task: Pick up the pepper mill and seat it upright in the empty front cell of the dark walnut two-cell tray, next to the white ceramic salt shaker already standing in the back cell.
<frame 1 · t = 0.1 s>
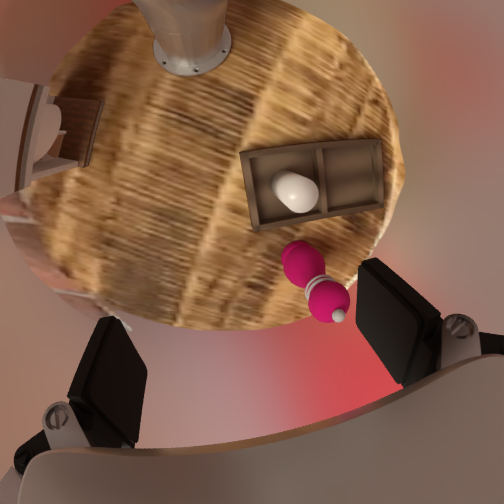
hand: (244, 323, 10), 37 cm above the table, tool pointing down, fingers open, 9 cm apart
pepper mill: (296, 255, 51), on the table
salt shaker: (284, 184, 44), point 1 cm above the table, touching walnut cruet tray
walnut cruet tray: (315, 178, 45), on the table
spiral ramp tower: (71, 130, 35), on the table
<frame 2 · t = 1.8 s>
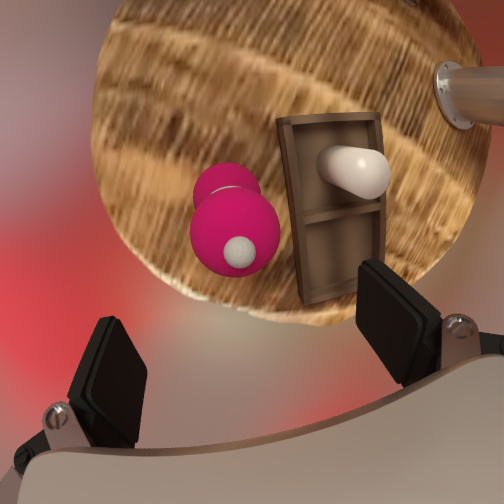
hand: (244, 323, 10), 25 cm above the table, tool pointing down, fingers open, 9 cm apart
pepper mill: (225, 188, 33), on the table
salt shaker: (333, 163, 32), point 1 cm above the table, touching walnut cruet tray
walnut cruet tray: (335, 206, 35), on the table
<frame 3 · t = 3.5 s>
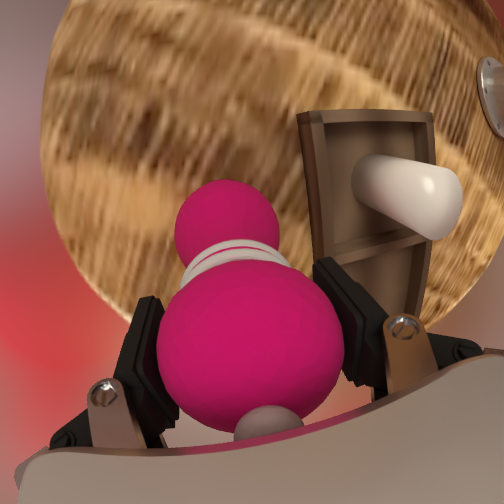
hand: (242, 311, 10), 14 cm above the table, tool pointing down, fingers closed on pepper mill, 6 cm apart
pepper mill: (223, 215, 23), on the table, touching gripper
salt shaker: (373, 179, 23), point 1 cm above the table, touching walnut cruet tray
walnut cruet tray: (370, 236, 26), on the table
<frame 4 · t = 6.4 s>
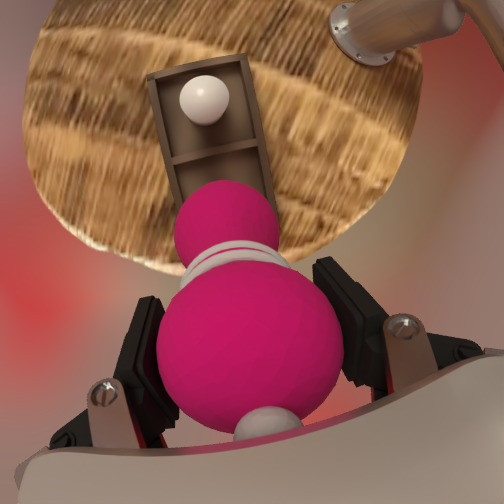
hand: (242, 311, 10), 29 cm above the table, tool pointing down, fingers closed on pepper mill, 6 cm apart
pepper mill: (223, 215, 23), point 15 cm above the table, touching gripper
salt shaker: (205, 108, 32), point 1 cm above the table, touching walnut cruet tray
walnut cruet tray: (213, 150, 35), on the table
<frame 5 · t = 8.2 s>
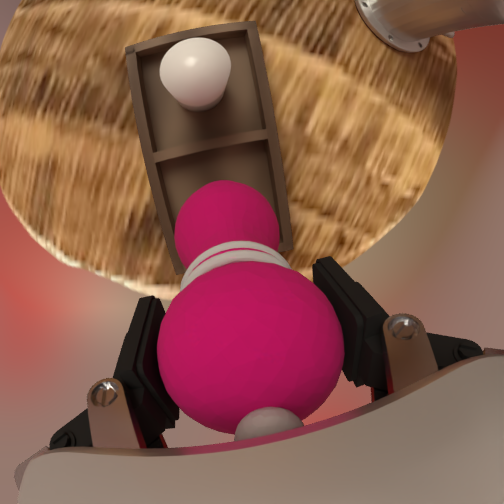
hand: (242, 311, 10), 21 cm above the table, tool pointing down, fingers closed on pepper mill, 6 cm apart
pepper mill: (223, 215, 23), point 7 cm above the table, touching gripper
salt shaker: (199, 89, 23), point 1 cm above the table, touching walnut cruet tray
walnut cruet tray: (210, 143, 26), on the table
when the fingers open (16 cm above the table, at t = 9.6 s): pepper mill drops 1 cm, resting on walnut cruet tray.
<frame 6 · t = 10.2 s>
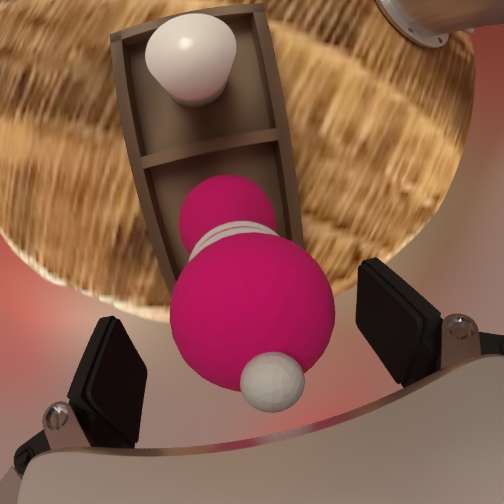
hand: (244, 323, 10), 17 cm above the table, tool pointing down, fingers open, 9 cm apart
pepper mill: (223, 208, 24), point 1 cm above the table, touching walnut cruet tray
salt shaker: (196, 81, 19), point 1 cm above the table, touching walnut cruet tray
walnut cruet tray: (208, 145, 22), on the table
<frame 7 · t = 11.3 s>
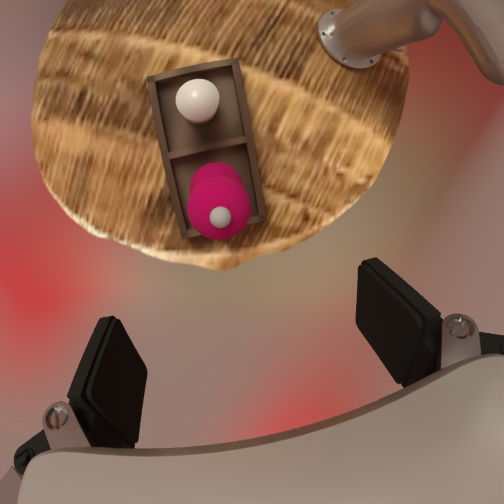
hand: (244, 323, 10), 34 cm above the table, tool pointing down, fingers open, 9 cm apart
pepper mill: (215, 183, 40), point 1 cm above the table, touching walnut cruet tray
salt shaker: (199, 108, 35), point 1 cm above the table, touching walnut cruet tray
walnut cruet tray: (207, 146, 38), on the table
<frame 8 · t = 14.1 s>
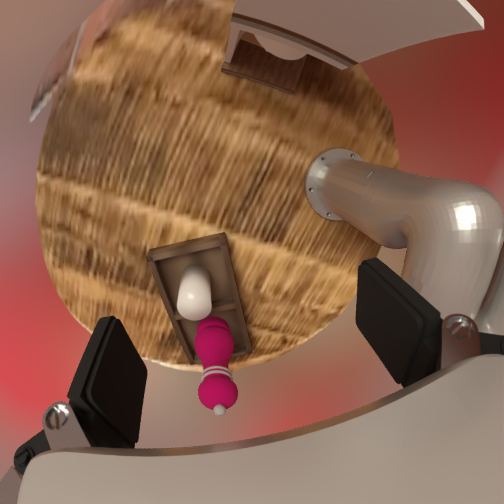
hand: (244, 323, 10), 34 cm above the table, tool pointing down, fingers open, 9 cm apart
pepper mill: (213, 328, 51), point 1 cm above the table, touching walnut cruet tray
salt shaker: (195, 277, 46), point 1 cm above the table, touching walnut cruet tray
walnut cruet tray: (204, 302, 49), on the table
spiral ramp tower: (266, 54, 34), on the table
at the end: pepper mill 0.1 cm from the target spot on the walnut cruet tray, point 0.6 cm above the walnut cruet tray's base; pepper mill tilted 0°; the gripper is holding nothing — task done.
